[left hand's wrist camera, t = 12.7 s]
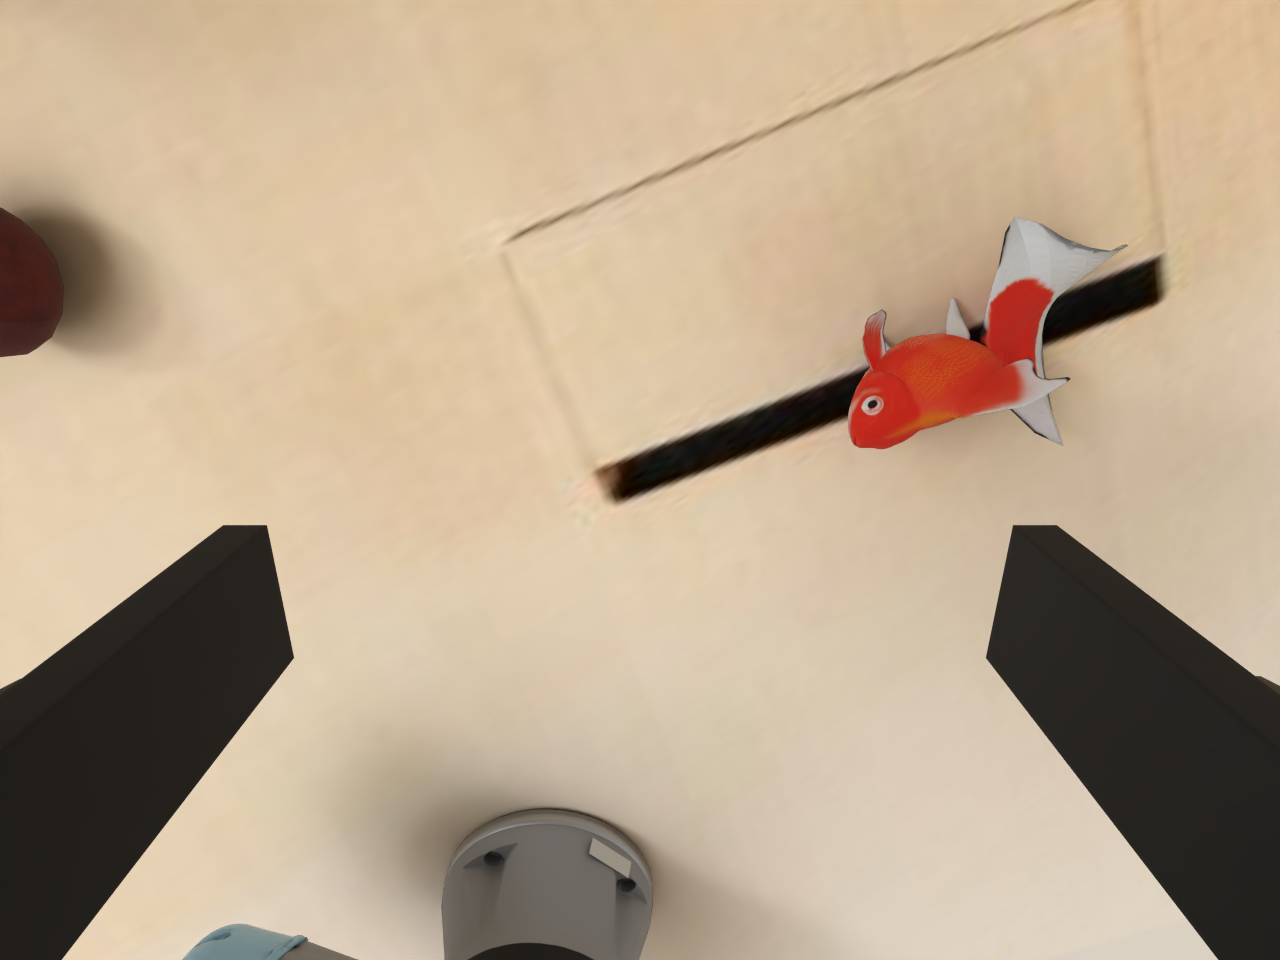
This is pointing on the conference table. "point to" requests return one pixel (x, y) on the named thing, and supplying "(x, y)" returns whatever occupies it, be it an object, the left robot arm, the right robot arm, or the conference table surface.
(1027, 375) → the fish
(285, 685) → the conference table surface
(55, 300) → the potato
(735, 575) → the conference table surface
